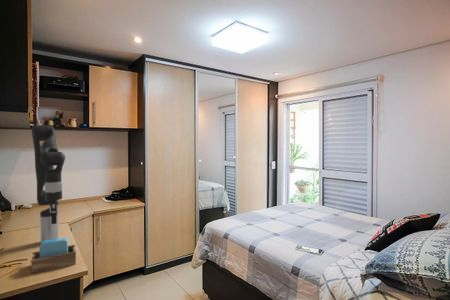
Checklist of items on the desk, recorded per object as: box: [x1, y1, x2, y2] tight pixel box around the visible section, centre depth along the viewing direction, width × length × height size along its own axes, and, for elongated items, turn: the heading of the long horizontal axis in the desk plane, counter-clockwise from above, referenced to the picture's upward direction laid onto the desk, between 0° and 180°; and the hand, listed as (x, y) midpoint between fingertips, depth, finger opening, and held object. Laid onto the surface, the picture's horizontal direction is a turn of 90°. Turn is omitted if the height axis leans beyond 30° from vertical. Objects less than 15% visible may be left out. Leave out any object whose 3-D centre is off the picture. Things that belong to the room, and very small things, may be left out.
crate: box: [30, 244, 77, 274], centre depth 137 cm, size 12×19×6 cm, turn 122°
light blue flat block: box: [39, 237, 69, 258], centre depth 137 cm, size 12×4×12 cm, turn 117°
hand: (54, 221), depth 137 cm, fingers open, 8 cm apart
